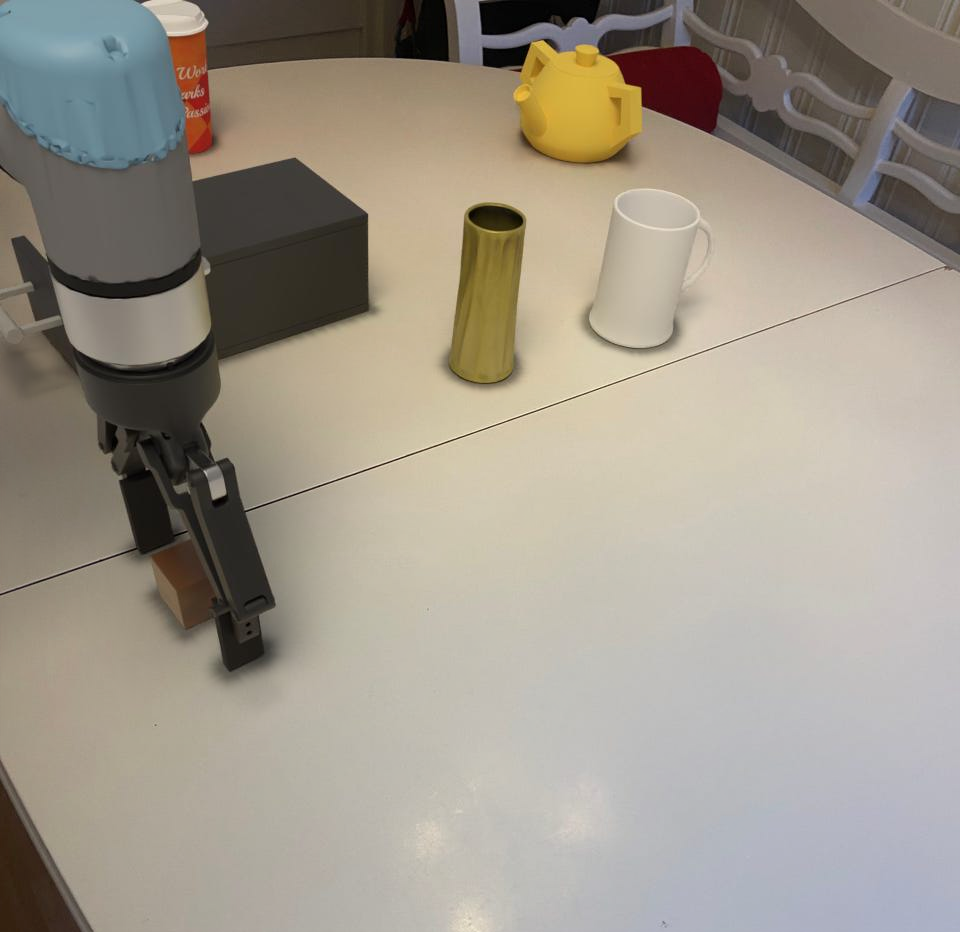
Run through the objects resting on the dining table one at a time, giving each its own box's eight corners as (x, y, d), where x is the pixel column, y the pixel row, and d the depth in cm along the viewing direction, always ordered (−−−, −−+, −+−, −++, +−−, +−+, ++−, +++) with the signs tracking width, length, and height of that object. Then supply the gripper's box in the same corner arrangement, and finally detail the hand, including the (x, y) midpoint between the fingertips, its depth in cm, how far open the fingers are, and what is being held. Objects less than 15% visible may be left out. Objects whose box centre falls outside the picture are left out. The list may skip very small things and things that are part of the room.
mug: (680, 296, 101) (710, 182, 92) (715, 341, 96) (751, 226, 87) (576, 305, 99) (597, 188, 89) (607, 352, 93) (632, 234, 84)
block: (185, 630, 67) (176, 591, 64) (159, 594, 69) (149, 555, 66) (236, 606, 69) (230, 567, 66) (210, 572, 71) (202, 533, 67)
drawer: (34, 404, 80) (6, 319, 74) (-18, 336, 85) (-48, 252, 79) (252, 335, 89) (243, 254, 83) (193, 277, 94) (180, 197, 88)
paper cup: (162, 160, 111) (140, 23, 100) (148, 132, 115) (125, -2, 105) (229, 153, 114) (214, 19, 103) (213, 126, 118) (197, -5, 107)
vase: (469, 339, 93) (482, 192, 82) (524, 361, 91) (545, 214, 80) (436, 368, 89) (445, 219, 78) (493, 392, 88) (510, 243, 77)
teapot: (457, 132, 123) (463, 36, 114) (556, 103, 132) (568, 11, 123) (568, 195, 114) (584, 96, 106) (666, 158, 123) (688, 64, 115)
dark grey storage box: (214, 361, 87) (199, 259, 80) (150, 295, 93) (131, 194, 86) (368, 310, 95) (368, 213, 87) (301, 252, 101) (295, 156, 93)
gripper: (323, 432, 48) (336, 689, 64) (110, 220, 60) (167, 483, 76) (185, 485, 45) (235, 742, 61) (-12, 250, 56) (75, 518, 73)
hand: (197, 599), depth 69 cm, fingers open, 13 cm apart
